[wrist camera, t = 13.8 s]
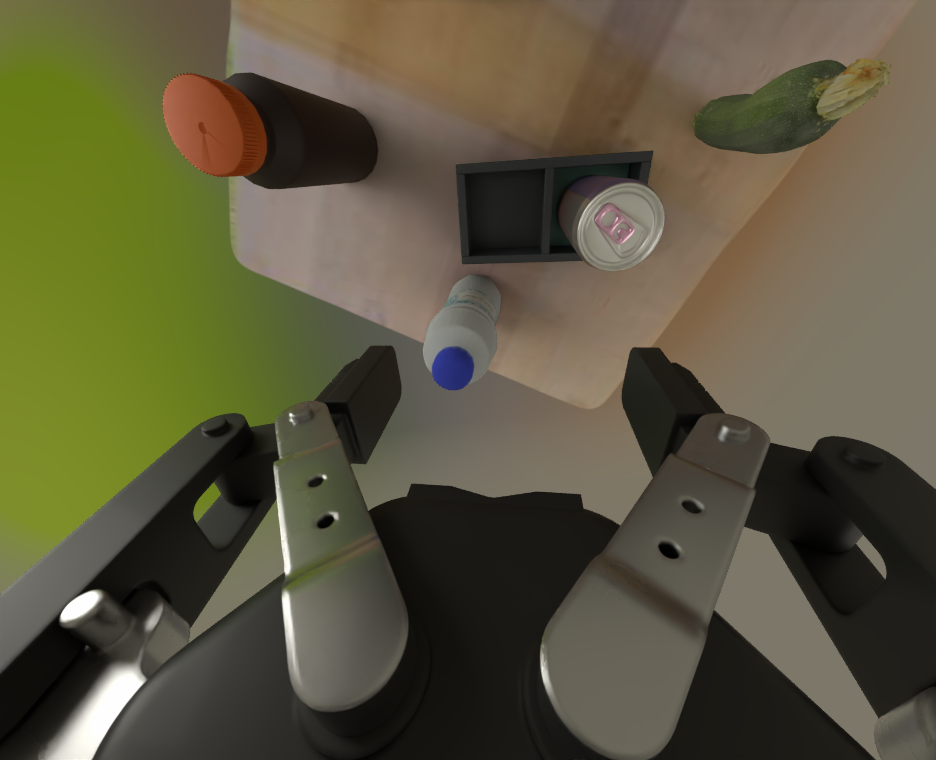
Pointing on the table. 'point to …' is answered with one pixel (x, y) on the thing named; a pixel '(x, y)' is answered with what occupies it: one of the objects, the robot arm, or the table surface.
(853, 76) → the vegetable
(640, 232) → the beverage can
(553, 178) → the divided tray
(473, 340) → the bottle
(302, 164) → the vinegar
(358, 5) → the table surface
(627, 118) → the table surface
